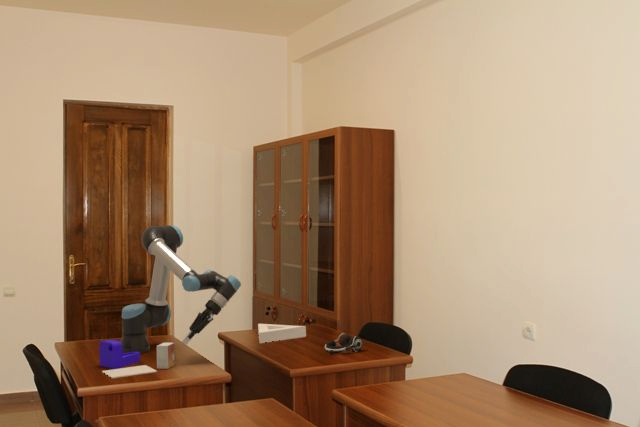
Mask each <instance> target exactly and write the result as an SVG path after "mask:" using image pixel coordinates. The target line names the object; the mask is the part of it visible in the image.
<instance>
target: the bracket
mask: <svg viewBox="0 0 640 427" xmlns="http://www.w3.org/2000/svg"><path fill="white" fill-rule="evenodd" d="M98 347H99V367H102V366H104V367H103V368H106V367H107V369H110V370H113V369H120V368H126V367H127V366H130V365H133V364H136V363H139V362H140V361H141V353H140V352H130V353H122V344H121V341H119V340H114V339H109V340H108V339H106V340H101V341H100V342H99V346H98Z"/></svg>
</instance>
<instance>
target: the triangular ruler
mask: <svg viewBox="0 0 640 427" xmlns="http://www.w3.org/2000/svg"><path fill="white" fill-rule="evenodd" d="M257 334H258V335H259V336H258V342H259V344H265V342H267V343H273V342H272V341H274V342H279V340H280V341H285V340H287V341H288V340H292V339H300V338H305V337H307V326H306V325H288V324H269V323H257Z"/></svg>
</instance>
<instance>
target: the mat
mask: <svg viewBox="0 0 640 427" xmlns="http://www.w3.org/2000/svg"><path fill="white" fill-rule="evenodd" d="M101 372H102V374H104V373H105V374H104V375H106V376H107V375H108V376H107V377H109V378H110V377H111V379H119V378H126V377H132V376H138V375H145V374H146V375H147V374H152V373H158V371H157V370H156V369H154V368H152V367H151V366H148V365H147V364H144V365H143V364H142V365H136V366H129V367H127V366H126V367H122V368H117V369H108V370H102V371H101Z"/></svg>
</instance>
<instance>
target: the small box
mask: <svg viewBox="0 0 640 427" xmlns="http://www.w3.org/2000/svg"><path fill="white" fill-rule="evenodd" d="M175 347H176V345H175V342H161V343H160V344H158V345H156V369H160V370H161V369H163V370H164V369H165V370H166V369H167V370H168V369H170V368H172V367H174V366H176V361H175V360H176V358H175V357H176V355H175V354H176V351H175V349H176V348H175Z"/></svg>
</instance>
